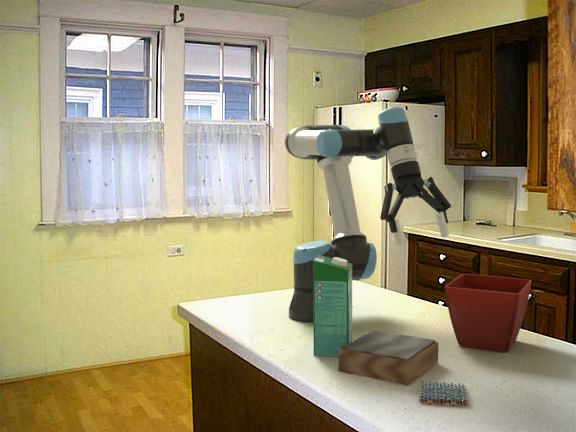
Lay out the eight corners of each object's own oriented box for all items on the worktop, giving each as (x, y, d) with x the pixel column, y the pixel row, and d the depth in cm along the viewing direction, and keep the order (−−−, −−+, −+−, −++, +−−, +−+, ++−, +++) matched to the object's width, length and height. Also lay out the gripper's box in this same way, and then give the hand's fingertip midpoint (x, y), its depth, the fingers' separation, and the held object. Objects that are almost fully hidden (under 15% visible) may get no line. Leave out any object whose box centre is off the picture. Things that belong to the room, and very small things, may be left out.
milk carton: (348, 357, 171) (348, 260, 169) (313, 355, 173) (312, 260, 170) (352, 346, 180) (352, 254, 177) (319, 345, 182) (318, 254, 179)
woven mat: (417, 407, 140) (418, 397, 140) (418, 388, 150) (418, 380, 150) (469, 410, 138) (469, 400, 138) (466, 391, 148) (466, 382, 148)
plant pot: (517, 358, 169) (519, 293, 167) (442, 348, 178) (443, 286, 176) (530, 339, 185) (532, 279, 183) (461, 330, 195) (462, 273, 193)
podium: (338, 371, 161) (338, 346, 160) (372, 351, 176) (372, 329, 175) (408, 385, 151) (408, 359, 150) (438, 363, 166) (438, 340, 165)
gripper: (368, 165, 173) (387, 244, 169) (450, 154, 181) (471, 230, 177) (356, 173, 180) (375, 250, 176) (437, 162, 188) (456, 236, 184)
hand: (423, 240), depth 176 cm, fingers open, 13 cm apart
